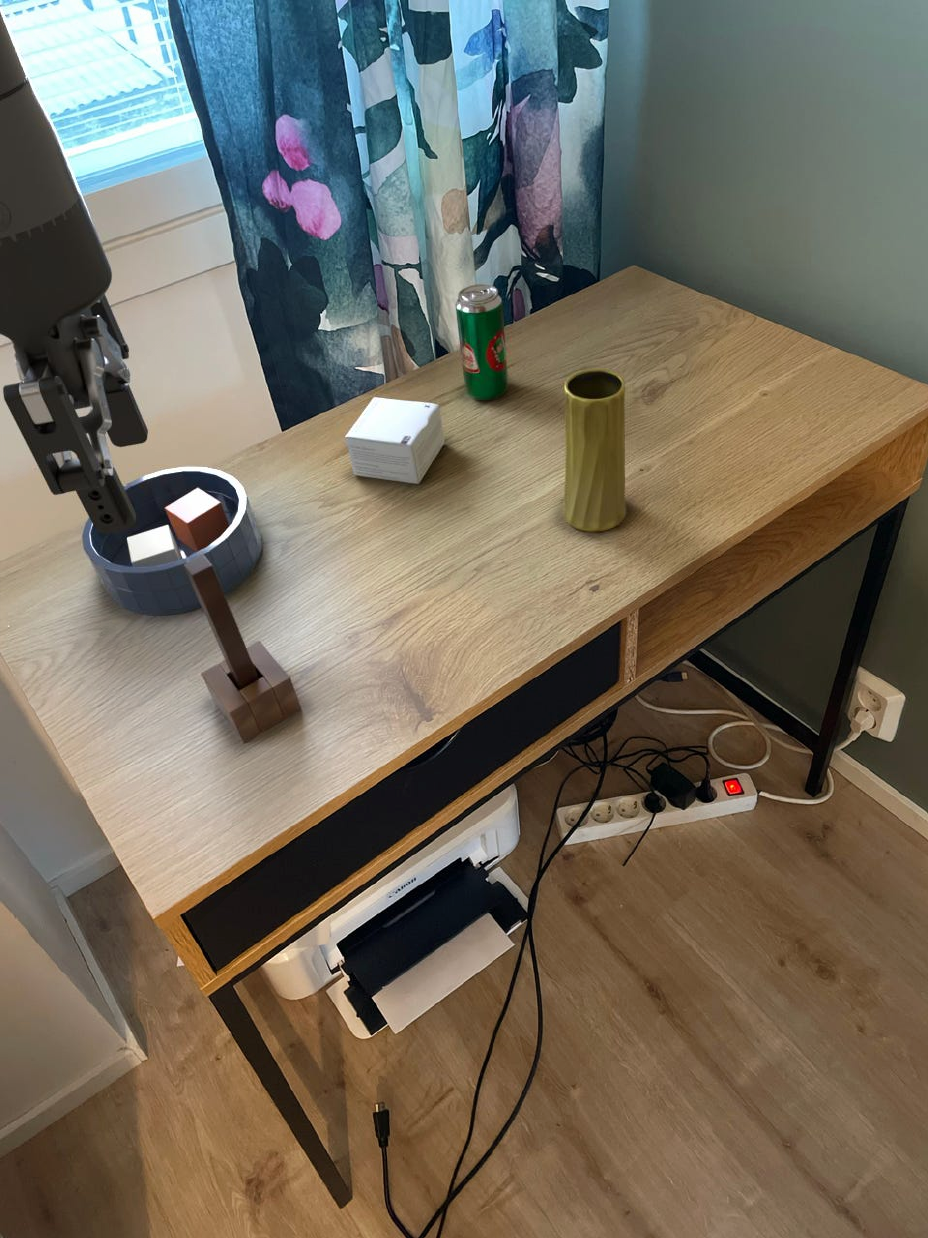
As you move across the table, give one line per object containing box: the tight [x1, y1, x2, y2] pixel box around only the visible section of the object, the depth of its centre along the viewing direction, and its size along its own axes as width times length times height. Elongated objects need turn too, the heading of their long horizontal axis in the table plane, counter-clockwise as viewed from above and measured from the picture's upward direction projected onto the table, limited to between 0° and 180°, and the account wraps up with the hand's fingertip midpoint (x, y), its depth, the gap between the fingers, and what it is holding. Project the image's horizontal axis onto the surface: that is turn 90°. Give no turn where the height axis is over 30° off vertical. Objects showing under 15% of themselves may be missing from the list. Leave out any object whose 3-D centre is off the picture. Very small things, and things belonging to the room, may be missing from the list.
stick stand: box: [200, 640, 302, 744], centre depth 73 cm, size 5×5×4 cm
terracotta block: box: [165, 488, 229, 552], centre depth 89 cm, size 4×4×4 cm
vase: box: [562, 368, 627, 533], centre depth 82 cm, size 6×6×14 cm
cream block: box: [127, 525, 183, 567], centre depth 85 cm, size 4×4×4 cm
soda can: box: [455, 283, 509, 401], centre depth 100 cm, size 5×5×12 cm
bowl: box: [81, 466, 263, 616], centre depth 87 cm, size 16×16×6 cm
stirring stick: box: [184, 555, 259, 691], centre depth 69 cm, size 2×2×16 cm
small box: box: [344, 396, 445, 485], centre depth 95 cm, size 8×8×5 cm
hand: (125, 482), depth 53 cm, fingers open, 8 cm apart
